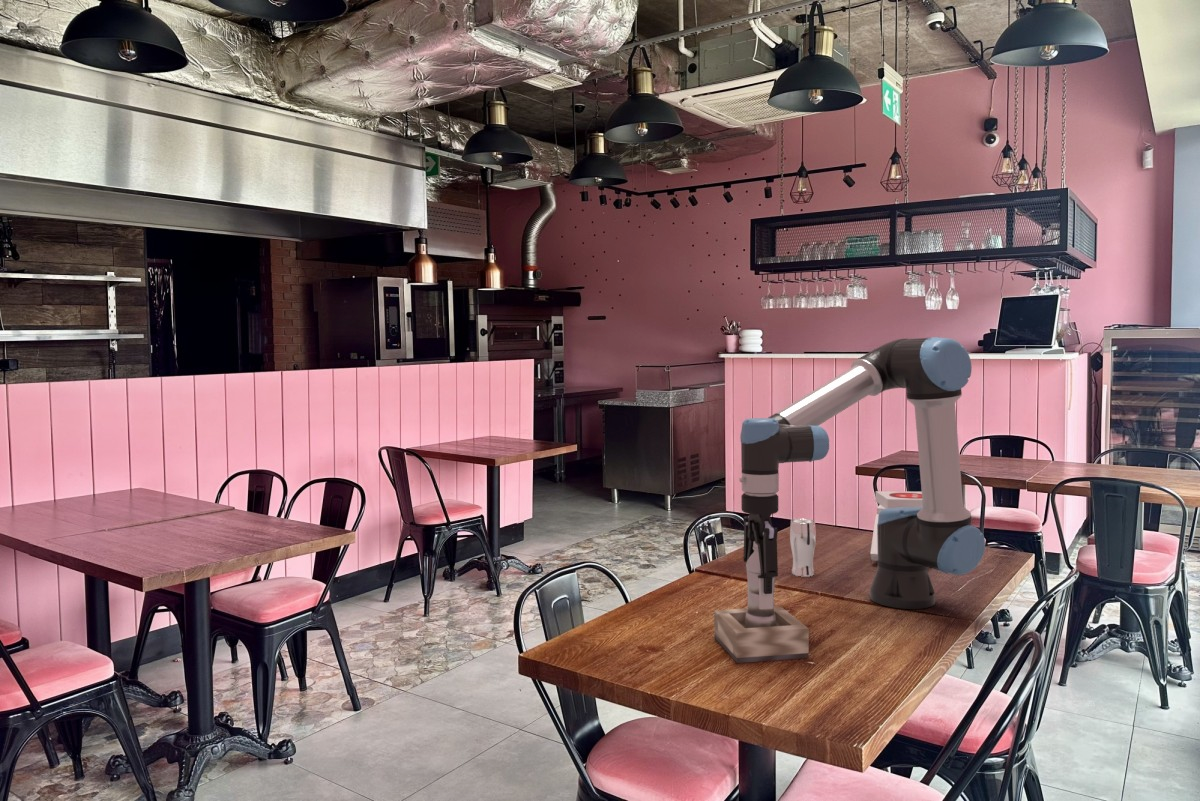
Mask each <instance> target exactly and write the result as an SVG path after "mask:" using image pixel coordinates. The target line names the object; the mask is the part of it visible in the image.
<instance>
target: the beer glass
mask: <svg viewBox="0 0 1200 801" xmlns="http://www.w3.org/2000/svg"><path fill="white" fill-rule="evenodd" d="M816 535H817V531H816V521H815V520H813V519H810V518H793V519H791V520H790V529H789V541H790V550H791V553H792V568H791V575H792V574H793V575H792V576H794V575H795V576H794V577H798V576H801V577H800V578H810V576H811V577H814V576H813V575H815V571H814V570H815V569H814V564H813V563H814V554H815V548H816V542H817V541H816V537H817V536H816Z"/></svg>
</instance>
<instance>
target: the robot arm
mask: <svg viewBox="0 0 1200 801" xmlns="http://www.w3.org/2000/svg"><path fill="white" fill-rule="evenodd" d="M851 363H852V364H851V365H850V366H851V367H850V368H849V369H847V370H845V371H844V372H842V373H841V374H839V375H838V376H835V377H834V378H832V379H830V380H829V381H827V382H826V383H824V384H821V385H820V386H818V387H817V388H816V389H814V390H812V391H810V392H809V393H807V394H806V395H804V396H802V397H800V398H799V399H797V400H795V401H794V402H792V403H789V405H787V406H785V407H784V408H782V409H780V410H779V411H778V412H775V413H774V414H772V415H769V416H768V417H766V418H765V417H759V418H758V417H753V418H746V419H744V420H743V421H742V423H741V431H740V437H739V438H740V439H739V440H740V445H741V446H740V448H741V449H740V450H741V451H740V453H741V454H740V455H741V459H740V460H741V477H740V478H739V482H740V483H741V491H742V492H743V493H742V494H741V496H740V497H741V502H740V503H741V511H742V512H743V513H745V514H748V516H743V559H742V560H743V562H744V563H745V565H746V564H747V560H748V559H749V557H750V556H751V555H752V553H753V552H754V550H753V542H754V540H755V543H756V544H757V545H758V552H759V561H760V570H761V575H758V578H759V609H773V578H774V577H776V578H777V577H778V576H779V568H778V565H779V564H778V561H779V560H778V532H779V531H778V530H779V529H778V527H773V523H772V518H771V516H772V515H774V514H777V513H778V512H779V495H778V494H777V493H778V492H779V491H780V490H779V489H780V488H779V485H780V483H779V482H780V480H779V478H780V475H779V474H780V473H779V464H784V463H785V464H786V463H797V462H798V463H800V462H809V463H812V462H814V461H822V460H823V459H824V458H825V457H826V456H828V453H829V450H830V437H829V435H828V432H827V430H825V428H823V427H822V426H820V425H823V423H825V422H827V421H829V420H830V419H832V418H834V417H835V416H836V415H838V414H840V413H841V412H843V411H845V410H847V409H848V408H850V407H852V406H853V405H855V404H856V403H857V402H859V401H861V400H863V399H865V398H866V397H868V396H872V397H875V396H878V395H879V394H881V393H883V392H885V391H889V390H894V389H905V392H906V394H905V395H906V400H907V401H908V402H909V403H911V404H912V405H913V407H914V413H915V414H914V415H915V416H914V417H915V426H916V427H915V429H916V440H917V452H918V461H919V462H918V463H919V464H918V465H919V475H920V476H919V478H920V485H921V486H920V487H921V492H922V501H923V507H898V508H887V509H883V510H881V511H880V513H879V515H878V524H877V538H878V561H877V568H876V571H875V574H874V576H873V580H872V583H871V586H870V589H869V599H870V600H871V601H872V602H874V603H876V604H879V605H882V606H886V607H889V608H895V609H903V610H904V609H905V610H906V609H907V610H919V609H928V608H930V607H931V608H932V607H933V606H935V604H936V594H935V591H934V587H933V583H932V579H931V577H930V574H929V570H928V569H929V568H930V569H932V570H935V571H939V572H941V573H943V574H947V575H948V574H951V575H955V576H963V575H966V574H969V573H971V572H972V571H973V570H975V569H976V568H977V566H978V565H979V563H980V562H981V561H982V559H983V557H984V554H985V550H986V539H985V536H984V534H983V532H982V531H981V530H980V529H979V528H978V527H976V526H975V525H973V521H972V513H971V511H970V510H968V509H967V508H966V507H965V506H964V500H963V499H964V498H963V489H962V488H963V486H962V474H961V461H960V460H961V459H960V448H959V438H958V436H959V435H958V425H957V424H958V423H957V412H956V410H957V409H956V403H957V401H958V400H959V399H960V398H961V397H962V395H963V394H962V388H965V386H966V385H967V384H968V383H969V378H971V376H972V360H971V357H970V354H969V352H968V350H967V349H966V348H965V346H964V345H962V344H961V343H960V342H959V341H957V340H955V339H953V338H948V337H940V336H932V337H919V338H918V337H917V338H899V339H895V340H892V341H889V342H887V343H884V344H882V345H880V346H878V347H876V348H874V349H872V350H871V351H869V352H867V353H866V354H864V355H862V356H861V357H859V358H857V359H855V360H854V361H853V362H851ZM760 539H763V540H760ZM748 591H749V590H748V589H747V592H748Z"/></svg>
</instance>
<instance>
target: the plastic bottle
mask: <svg viewBox="0 0 1200 801" xmlns="http://www.w3.org/2000/svg"><path fill="white" fill-rule="evenodd" d="M760 540H763V539H760ZM753 550H754V552H753V553H752V555H751V556H750V557H749V559H748V560H747V564H746V563H745V569H746V576H747V577H746V579H747V606H746V608H747V612H746V616H745V628H758V627H773V626H776V617H775V614H774V613H775V612H774V607H775V593H774V592H775V584H776V579H777V577H774V578H773V609H759V578H758V575H761V570H760V561H759V552H758V545H757V544H756V543H755V540H754V542H753ZM748 590H749V591H748Z"/></svg>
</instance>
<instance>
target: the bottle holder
mask: <svg viewBox="0 0 1200 801" xmlns="http://www.w3.org/2000/svg"><path fill="white" fill-rule="evenodd" d="M746 612H747V607H746V608H735V609H734V608H732V609H731V608H730V609H716V610H714V613H713V614H714V615H713V616H714V618H713V619H714V623H713V625H714V631H713V632H714V634H713V635H714V637H713V638H714V639H715V640H716V641H717V643H719V645H720V646H721V647H722V648H723V649H724V650H725V652H727V654H728V655H729V657H731V658H732V659H733V661H735V663H736V664H740V663H741V664H742V663H753V662H754V663H756V662H767V661H768V662H771V661H784V660H797V659H798V660H799V659H809V657H810V656H809V655H810V654H809V653H810V652H809V649H810V644H809V643H810V642H809V641H810V640H809V636H810V634H809V633H810V630H809V629H810V628H809V627H808V626H806V625H805V624H804V623H802V622H801V621H800V620H798V618H796V617H795V616H793V615H792V614H791V613H790V612H788V611H787V610H786V609H784V607H782V606H780V605H779V606H774V612H775V613H774V614H775V617H776V626H773V627H758V628H745V616H746Z"/></svg>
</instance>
